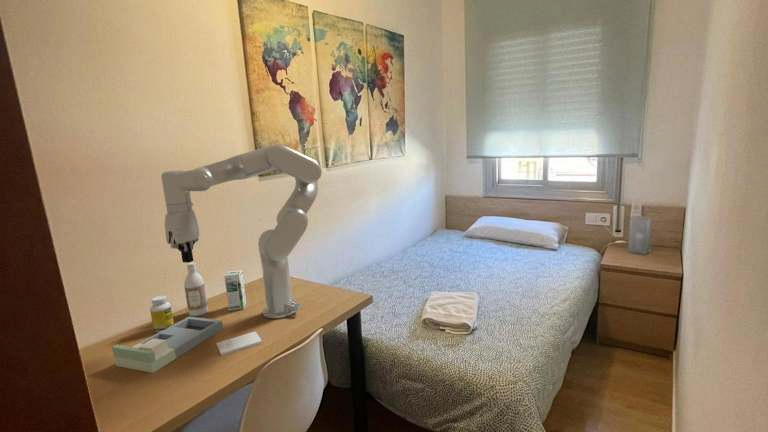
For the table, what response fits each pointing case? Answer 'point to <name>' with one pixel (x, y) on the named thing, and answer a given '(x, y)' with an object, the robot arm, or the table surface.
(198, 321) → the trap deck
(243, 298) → the syrup box
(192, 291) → the bath foam
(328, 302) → the table surface
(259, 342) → the external hard drive
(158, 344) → the block
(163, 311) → the pill bottle
